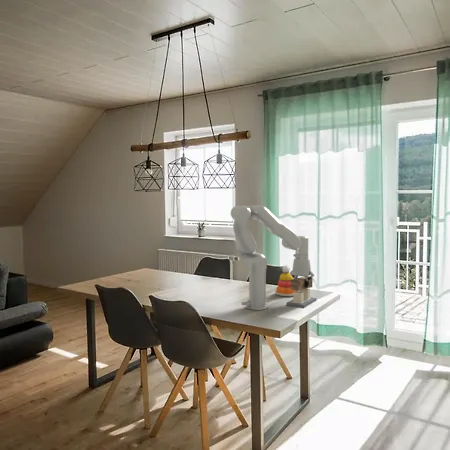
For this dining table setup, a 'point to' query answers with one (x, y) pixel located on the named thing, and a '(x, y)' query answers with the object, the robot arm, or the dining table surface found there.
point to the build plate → (301, 298)
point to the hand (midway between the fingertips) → (301, 286)
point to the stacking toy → (285, 283)
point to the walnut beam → (300, 284)
